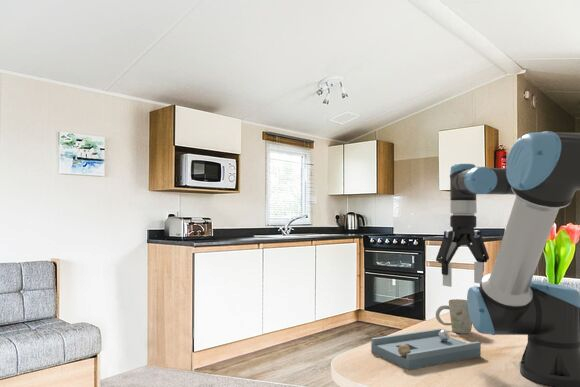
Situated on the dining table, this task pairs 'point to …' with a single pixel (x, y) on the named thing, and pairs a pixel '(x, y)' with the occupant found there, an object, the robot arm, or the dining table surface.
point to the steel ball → (443, 335)
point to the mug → (457, 316)
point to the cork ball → (404, 350)
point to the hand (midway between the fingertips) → (463, 284)
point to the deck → (424, 349)
